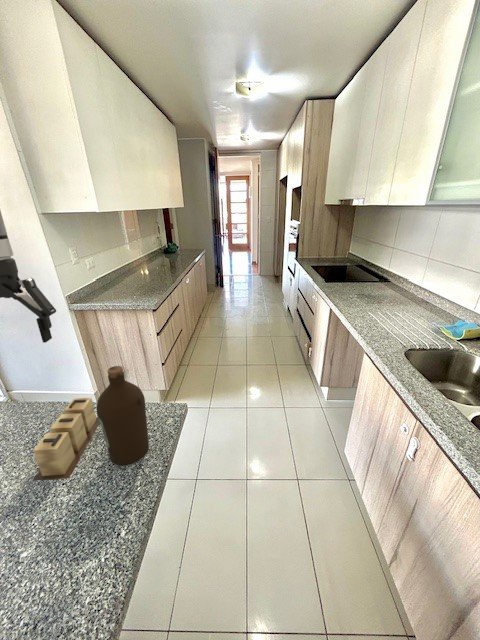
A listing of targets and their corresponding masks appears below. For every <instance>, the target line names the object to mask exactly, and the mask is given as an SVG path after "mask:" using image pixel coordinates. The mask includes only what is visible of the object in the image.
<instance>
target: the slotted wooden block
mask: <svg viewBox="0 0 480 640" xmlns="http://www.w3.org/2000/svg"><path fill="white" fill-rule="evenodd" d="M79 413H81V415H82V418H83V422H84V426H85V430H86V432H90V430H91V428H92V426H93V425H94V423H95V421H96V420H97V419H96V418H97V414H96V411H95V407H94V403H93V398H92V397H80V398H79V397H78V398H77V397H76V398H75V397H74V398H72V399H71V401H70V402H69V403H68V405H67V406H66V407H65V408H64V414H79Z"/></svg>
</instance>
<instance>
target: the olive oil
mask: <svg viewBox="0 0 480 640" xmlns="http://www.w3.org/2000/svg"><path fill="white" fill-rule="evenodd" d="M125 377H126V376H125V372H124V368H123V366H121V365H114V366H111V367H109V368H108V369H107V378H108V382H109V384H108V386H107V387H106V388H105V389H104V390H103V391H102V392H101V394H100V395H99V397H98V399H97V403H96V416H97V417H98V418H99V422H100V424H99V426H100V427H101V431H102V434H103V439H104V440H105V443H106V448H107V451H108V454H109V455H108V456H109V459H110V461H111V462H112V463H113V464H114V465H115V466H119V467H126V466H131V465H134V464H136V463H138V462H139V461H140V460H142V459H143V458H144V457H145V456H146V455H148V452H149V449H150V444H149V434H148V433H149V432H148V423H147V409H146V399H145V395H144V392H143V390H142V389H141V388H140V387H139V386H138V385H136V384H134V383H132V382H130V381H128V380H126V378H125Z"/></svg>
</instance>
